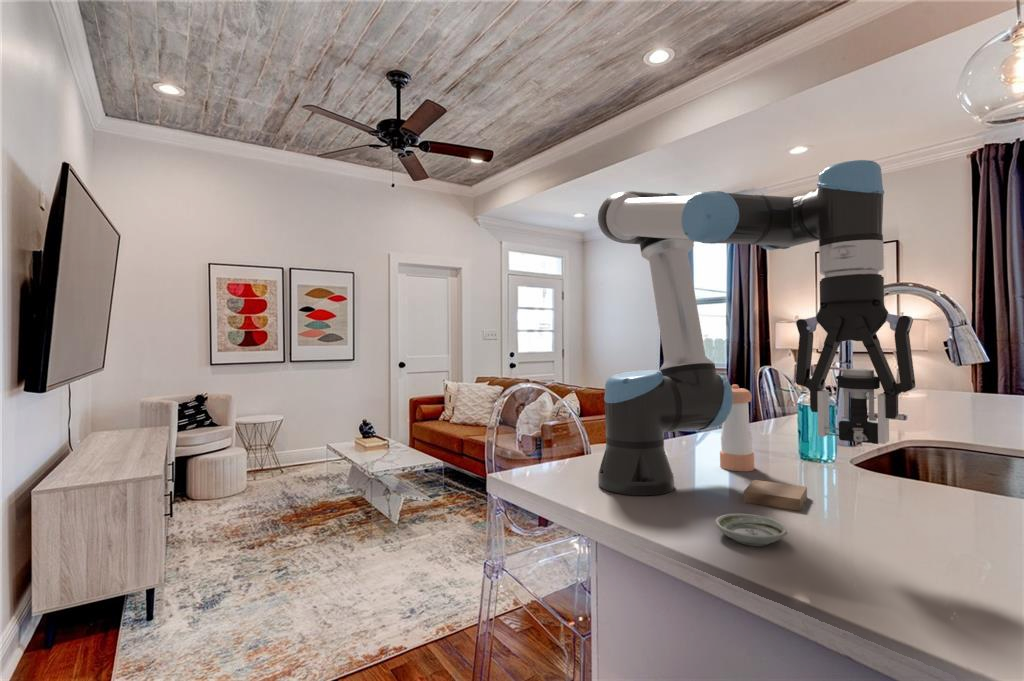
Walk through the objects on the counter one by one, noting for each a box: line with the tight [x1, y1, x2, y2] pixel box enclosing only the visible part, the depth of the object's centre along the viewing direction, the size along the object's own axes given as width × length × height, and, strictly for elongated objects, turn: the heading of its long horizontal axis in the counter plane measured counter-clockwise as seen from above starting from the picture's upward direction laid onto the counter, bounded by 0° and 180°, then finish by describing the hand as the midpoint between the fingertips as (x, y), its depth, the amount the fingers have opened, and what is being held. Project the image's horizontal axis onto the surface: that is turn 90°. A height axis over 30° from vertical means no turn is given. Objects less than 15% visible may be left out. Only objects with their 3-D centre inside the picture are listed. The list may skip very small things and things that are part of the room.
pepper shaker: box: [719, 384, 755, 472], centre depth 117 cm, size 7×7×19 cm
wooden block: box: [743, 479, 808, 512], centre depth 93 cm, size 9×9×2 cm
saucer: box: [714, 513, 788, 547], centre depth 75 cm, size 10×10×2 cm
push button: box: [825, 368, 881, 445], centre depth 72 cm, size 7×5×10 cm
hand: (852, 438), depth 72 cm, fingers closed on push button, 6 cm apart
